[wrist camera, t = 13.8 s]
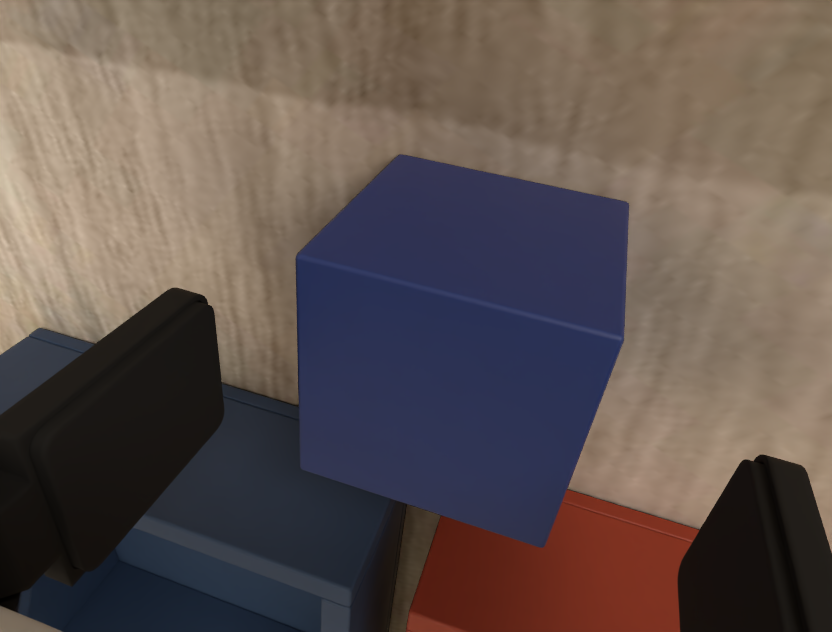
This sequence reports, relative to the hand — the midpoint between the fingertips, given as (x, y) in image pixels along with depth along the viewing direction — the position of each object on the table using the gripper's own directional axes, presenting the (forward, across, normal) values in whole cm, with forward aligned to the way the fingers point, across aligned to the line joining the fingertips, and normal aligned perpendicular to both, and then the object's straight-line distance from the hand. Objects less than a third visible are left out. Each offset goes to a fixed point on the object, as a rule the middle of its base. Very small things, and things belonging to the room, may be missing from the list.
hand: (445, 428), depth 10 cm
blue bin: (+5, +8, +12) cm, 16 cm away
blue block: (+5, 0, 0) cm, 5 cm away
